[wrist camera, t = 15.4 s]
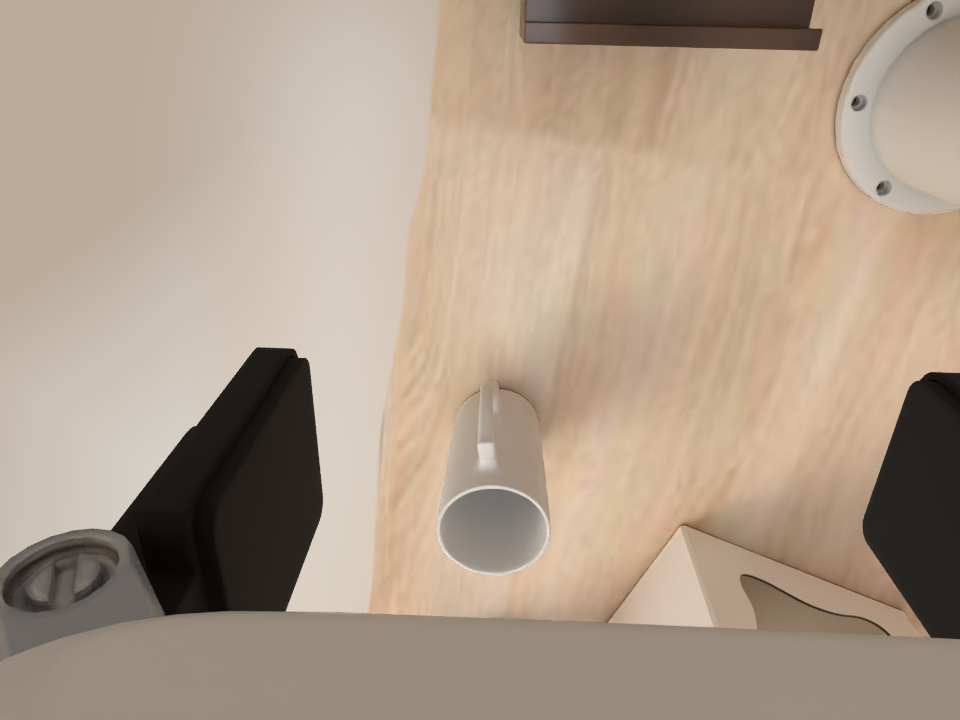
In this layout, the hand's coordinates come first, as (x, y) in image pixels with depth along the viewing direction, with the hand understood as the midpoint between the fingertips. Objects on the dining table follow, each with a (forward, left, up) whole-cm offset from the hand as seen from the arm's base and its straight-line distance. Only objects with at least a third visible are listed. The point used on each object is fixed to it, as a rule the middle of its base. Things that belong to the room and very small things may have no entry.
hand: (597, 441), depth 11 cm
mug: (+2, +20, -34) cm, 40 cm away
